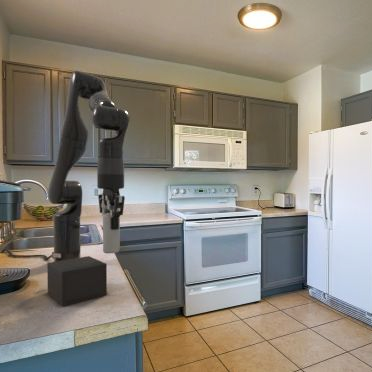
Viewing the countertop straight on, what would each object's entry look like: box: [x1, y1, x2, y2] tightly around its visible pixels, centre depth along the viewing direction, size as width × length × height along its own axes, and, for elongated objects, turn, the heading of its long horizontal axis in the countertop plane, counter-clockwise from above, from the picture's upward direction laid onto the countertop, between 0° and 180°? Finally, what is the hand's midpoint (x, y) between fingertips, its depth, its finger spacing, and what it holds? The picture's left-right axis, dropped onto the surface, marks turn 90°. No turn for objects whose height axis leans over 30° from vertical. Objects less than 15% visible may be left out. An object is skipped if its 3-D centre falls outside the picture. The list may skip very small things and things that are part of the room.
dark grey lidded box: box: [46, 255, 108, 307], centre depth 92 cm, size 14×12×9 cm
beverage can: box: [102, 213, 121, 254], centre depth 97 cm, size 5×5×12 cm
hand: (110, 228), depth 96 cm, fingers closed on beverage can, 5 cm apart
